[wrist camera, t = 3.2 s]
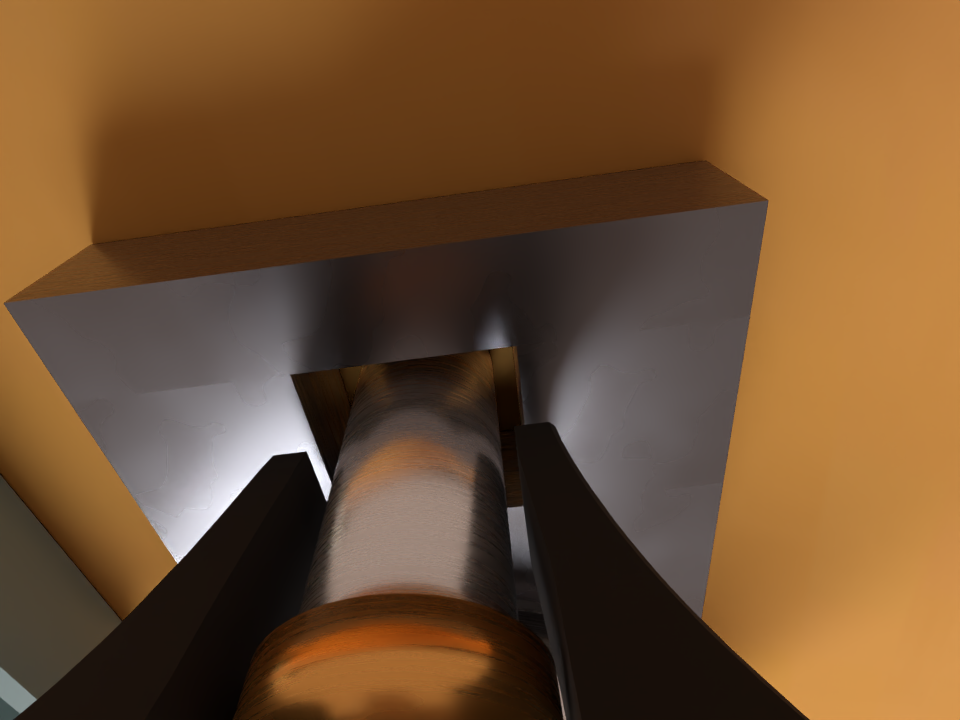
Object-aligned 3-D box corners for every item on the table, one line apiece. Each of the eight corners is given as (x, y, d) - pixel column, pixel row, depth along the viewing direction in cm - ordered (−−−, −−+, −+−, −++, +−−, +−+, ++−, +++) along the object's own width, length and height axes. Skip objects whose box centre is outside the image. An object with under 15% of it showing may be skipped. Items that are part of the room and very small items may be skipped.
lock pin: (516, 425, 14) (575, 826, 7) (367, 443, 14) (285, 855, 7) (501, 288, 12) (562, 669, 5) (325, 311, 12) (156, 713, 5)
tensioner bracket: (657, 666, 20) (717, 862, 16) (334, 700, 21) (300, 901, 16) (705, 160, 10) (904, 286, 6) (90, 244, 11) (-178, 423, 6)
